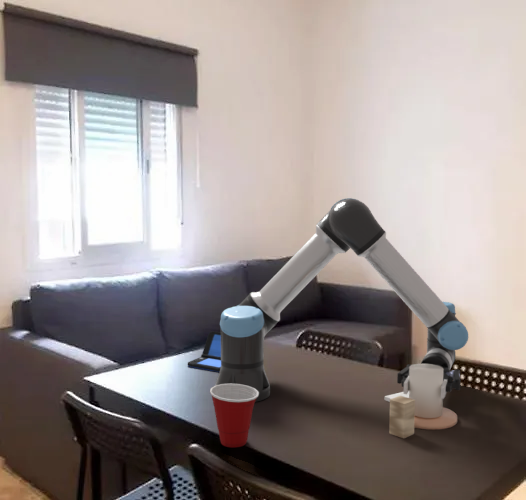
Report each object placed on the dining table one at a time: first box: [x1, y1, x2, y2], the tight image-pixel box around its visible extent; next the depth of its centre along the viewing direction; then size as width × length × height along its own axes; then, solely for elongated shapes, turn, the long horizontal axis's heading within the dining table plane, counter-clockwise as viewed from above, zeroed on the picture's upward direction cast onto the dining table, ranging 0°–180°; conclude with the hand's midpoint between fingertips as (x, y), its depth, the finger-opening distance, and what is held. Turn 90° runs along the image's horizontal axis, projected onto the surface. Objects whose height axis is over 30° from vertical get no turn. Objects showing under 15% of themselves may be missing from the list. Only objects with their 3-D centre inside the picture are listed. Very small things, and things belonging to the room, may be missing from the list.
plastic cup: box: [209, 384, 259, 448], centre depth 137 cm, size 11×11×12 cm
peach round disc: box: [414, 406, 458, 431], centre depth 152 cm, size 15×15×1 cm
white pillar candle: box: [409, 363, 444, 418], centre depth 152 cm, size 8×8×11 cm
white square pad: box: [384, 391, 409, 403], centre depth 164 cm, size 10×10×1 cm
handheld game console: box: [187, 330, 221, 373], centre depth 199 cm, size 16×13×9 cm
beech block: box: [388, 396, 415, 439], centre depth 142 cm, size 4×4×8 cm
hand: (423, 390), depth 148 cm, fingers closed on white pillar candle, 8 cm apart
